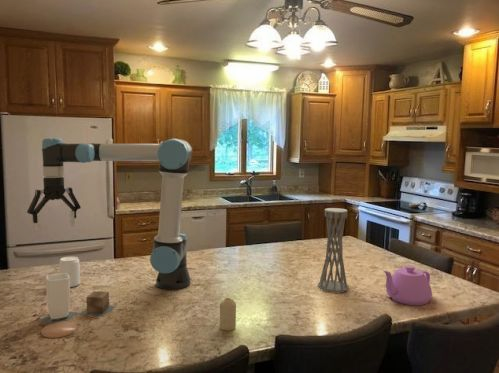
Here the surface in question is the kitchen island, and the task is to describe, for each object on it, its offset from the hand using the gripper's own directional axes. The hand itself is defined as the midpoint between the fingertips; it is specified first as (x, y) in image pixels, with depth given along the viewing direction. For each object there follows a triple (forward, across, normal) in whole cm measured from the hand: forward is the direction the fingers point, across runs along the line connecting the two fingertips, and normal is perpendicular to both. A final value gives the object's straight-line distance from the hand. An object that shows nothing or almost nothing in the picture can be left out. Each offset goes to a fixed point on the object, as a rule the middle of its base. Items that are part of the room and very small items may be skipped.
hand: (55, 228), depth 169 cm
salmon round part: (+27, +13, +35) cm, 46 cm away
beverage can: (+28, -8, -6) cm, 29 cm away
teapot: (+28, -100, +105) cm, 148 cm away
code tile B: (+27, -4, +28) cm, 39 cm away
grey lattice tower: (+28, -90, +76) cm, 121 cm away
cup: (+28, +9, +24) cm, 38 cm away
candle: (+28, -29, +72) cm, 83 cm away
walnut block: (+27, -4, +28) cm, 39 cm away
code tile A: (+27, +9, +24) cm, 38 cm away
